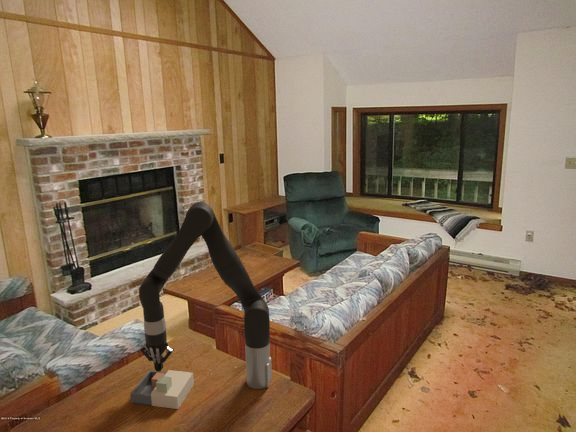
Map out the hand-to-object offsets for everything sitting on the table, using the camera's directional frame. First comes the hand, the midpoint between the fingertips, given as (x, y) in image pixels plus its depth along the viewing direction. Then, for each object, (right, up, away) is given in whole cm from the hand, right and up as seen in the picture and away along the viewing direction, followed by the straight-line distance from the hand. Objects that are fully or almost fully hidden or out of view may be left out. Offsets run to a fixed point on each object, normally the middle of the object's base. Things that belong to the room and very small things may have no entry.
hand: (159, 370), depth 159 cm
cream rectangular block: (+6, -8, -3) cm, 10 cm away
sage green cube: (+4, -4, -7) cm, 9 cm away
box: (-3, -8, -1) cm, 8 cm away
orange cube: (+1, -4, +1) cm, 5 cm away
